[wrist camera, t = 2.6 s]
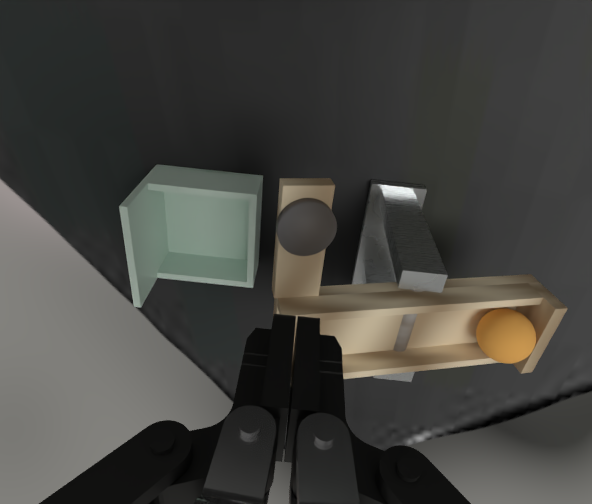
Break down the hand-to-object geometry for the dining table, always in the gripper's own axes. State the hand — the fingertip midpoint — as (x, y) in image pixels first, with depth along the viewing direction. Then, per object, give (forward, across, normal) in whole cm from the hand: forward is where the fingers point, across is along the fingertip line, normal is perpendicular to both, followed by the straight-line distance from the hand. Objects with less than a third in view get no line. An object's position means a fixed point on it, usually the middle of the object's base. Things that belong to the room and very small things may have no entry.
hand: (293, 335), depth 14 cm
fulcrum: (+20, -7, +7) cm, 22 cm away
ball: (+9, -13, +7) cm, 17 cm away
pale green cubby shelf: (+20, +7, +7) cm, 22 cm away
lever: (+10, -6, +4) cm, 13 cm away
